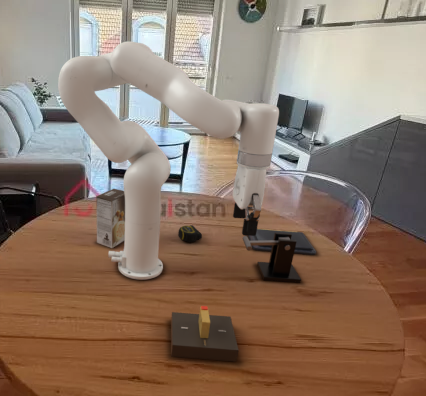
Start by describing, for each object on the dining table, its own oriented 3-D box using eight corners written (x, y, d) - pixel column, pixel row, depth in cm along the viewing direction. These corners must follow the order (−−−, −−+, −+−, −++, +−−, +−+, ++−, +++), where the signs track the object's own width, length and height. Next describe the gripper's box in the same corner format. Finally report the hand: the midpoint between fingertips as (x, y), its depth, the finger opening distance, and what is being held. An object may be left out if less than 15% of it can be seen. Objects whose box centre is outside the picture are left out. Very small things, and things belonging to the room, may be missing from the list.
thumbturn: (208, 338, 74) (210, 321, 73) (200, 337, 74) (202, 320, 73) (205, 321, 79) (208, 305, 78) (198, 321, 79) (200, 305, 78)
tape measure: (202, 242, 119) (203, 232, 118) (182, 245, 117) (183, 234, 116) (193, 233, 125) (194, 223, 124) (174, 235, 123) (175, 225, 122)
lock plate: (171, 356, 73) (172, 344, 72) (170, 322, 83) (171, 311, 82) (236, 361, 73) (238, 349, 72) (228, 327, 82) (230, 315, 81)
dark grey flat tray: (253, 244, 115) (246, 224, 130) (252, 250, 116) (245, 229, 130) (318, 251, 114) (304, 229, 128) (317, 256, 114) (303, 234, 128)
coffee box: (113, 232, 123) (114, 187, 117) (129, 237, 120) (130, 192, 114) (96, 243, 116) (95, 195, 110) (112, 249, 113) (113, 200, 107)
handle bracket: (263, 280, 100) (270, 242, 96) (256, 265, 108) (263, 229, 104) (300, 283, 100) (309, 245, 96) (291, 267, 107) (299, 231, 103)
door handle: (246, 252, 99) (246, 244, 98) (242, 241, 104) (242, 234, 103) (292, 251, 98) (293, 243, 97) (285, 241, 103) (286, 233, 103)
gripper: (230, 149, 92) (222, 211, 99) (247, 169, 76) (236, 241, 82) (259, 150, 92) (249, 212, 99) (283, 170, 76) (269, 243, 83)
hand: (243, 225), depth 91 cm, fingers open, 9 cm apart
